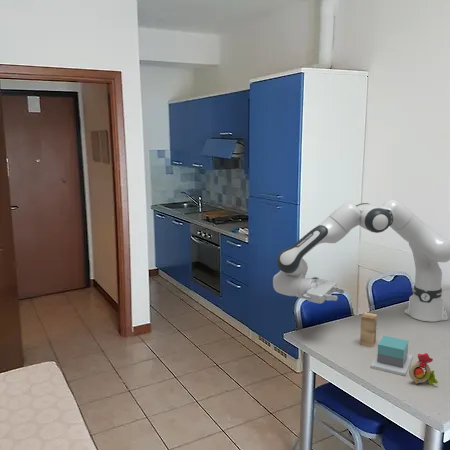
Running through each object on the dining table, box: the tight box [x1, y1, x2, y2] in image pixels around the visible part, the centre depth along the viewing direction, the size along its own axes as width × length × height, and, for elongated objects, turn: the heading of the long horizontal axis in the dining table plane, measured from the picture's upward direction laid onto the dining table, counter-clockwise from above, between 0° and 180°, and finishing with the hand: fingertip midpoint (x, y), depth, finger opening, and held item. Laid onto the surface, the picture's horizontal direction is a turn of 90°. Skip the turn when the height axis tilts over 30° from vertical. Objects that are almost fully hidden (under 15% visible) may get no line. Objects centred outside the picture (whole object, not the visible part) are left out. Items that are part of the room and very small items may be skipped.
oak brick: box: [359, 312, 378, 348], centre depth 189 cm, size 5×5×12 cm
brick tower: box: [370, 335, 414, 377], centre depth 173 cm, size 16×12×8 cm
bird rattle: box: [408, 353, 439, 386], centre depth 158 cm, size 6×11×9 cm
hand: (340, 295), depth 192 cm, fingers open, 8 cm apart
